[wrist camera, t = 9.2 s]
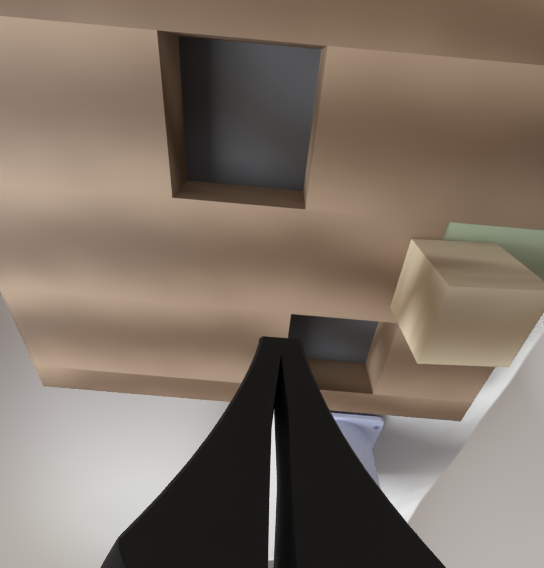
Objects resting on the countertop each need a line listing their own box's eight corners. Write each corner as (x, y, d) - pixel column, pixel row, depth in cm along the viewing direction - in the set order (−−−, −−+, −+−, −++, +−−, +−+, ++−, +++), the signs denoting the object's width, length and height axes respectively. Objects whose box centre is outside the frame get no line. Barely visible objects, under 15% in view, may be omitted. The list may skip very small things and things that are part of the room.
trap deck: (443, 385, 25) (460, 421, 23) (68, 354, 25) (43, 386, 22) (643, 16, 13) (727, 4, 11) (-80, -51, 13) (-168, -79, 10)
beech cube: (464, 310, 18) (508, 367, 14) (390, 306, 18) (417, 363, 14) (495, 242, 15) (556, 291, 12) (411, 238, 15) (449, 286, 12)
